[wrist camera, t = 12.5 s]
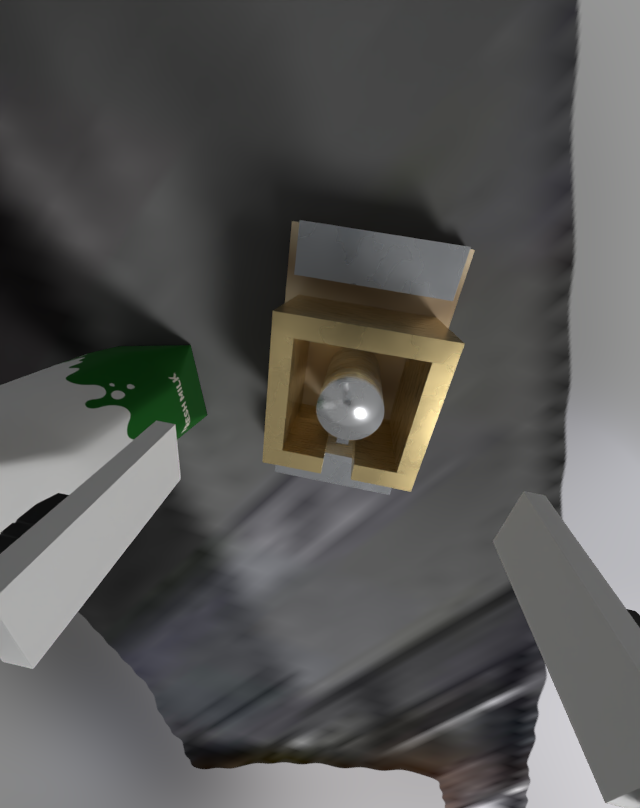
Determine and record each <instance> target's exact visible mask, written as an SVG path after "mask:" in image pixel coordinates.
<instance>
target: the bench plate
mask: <svg viewBox="0 0 640 808" xmlns="http://www.w3.org/2000/svg"><path fill="white" fill-rule="evenodd" d="M298 231H299V222H295V221H292V226H291V238H290V249H289V261H288V272H287V283H286V295H285V303H286V302H287V301H289V300H291V299H292V298H294V297H295V296H297V295H298V294H299V295H305V296H311V297H317V298H323V299H329V300H335V301H341V302H347V303H353V304H359V305H365V306H371V307H377V308H383V309H389V310H395V311H401V312H407V313H413V314H419V315H425V316H431V317H437V318H438V319H439V320H440V321H441V322H442V323H443V324H444V325H445V326H446V327H447V328H449V325H450V322H451V319H452V316H453V313H454V310H455V307H456V305H457V302H458V299H459V296H460V293H461V290H462V287H463V284H464V281H465V278H466V275H467V272H468V269H469V266H470V263H471V260H472V257H473V254H474V251H475V250H472V249H470V251H469V254H468V257H467V260H466V263H465V266H464V269H463V272H462V276H461V279H460V282H459V285H458V288H457V291H456V294H455V297H454V300H453V301H449V300H443V299H437V298H431V297H425V296H419V295H413V294H407V293H401V292H395V291H389V290H383V289H377V288H371V287H365V286H359V285H354V284H348V283H342V282H336V281H330V280H324V279H318V278H312V277H306V276H300V275H294V272H295V262H296V251H297V241H298ZM343 348H345V347H341V346H335V345H329V344H324V343H318V342H312V341H310V344H309V352H308V360H307V367H306V375H305V383H304V391H303V399H302V404H307V405H313V406H317V401H318V398H319V395H320V392H321V389H322V386H323V383H324V379H325V376H326V373H327V370H328V367H329V364H330V361H331V359H332V357H333V356H334V355H335V354H336V353H337V352H338V351H339V350H341V349H343ZM372 353H373V354H374V355H375V357H376V358H377V360H378V363H379V368H380V377H381V385H382V394H383V402H384V417H383V419H388V420H389V419H390V415H391V412H392V408H393V405H394V401H395V398H396V394H397V391H398V387H399V383H400V380H401V376H402V373H403V369H404V366H405V362H406V359H407V358H403V357H398V356H392V355H386V354H381V353H375V352H372ZM329 437H334V438H337V437H335V436H333V435H331V434H330V433H329ZM350 441H353V440H350Z"/></svg>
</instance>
